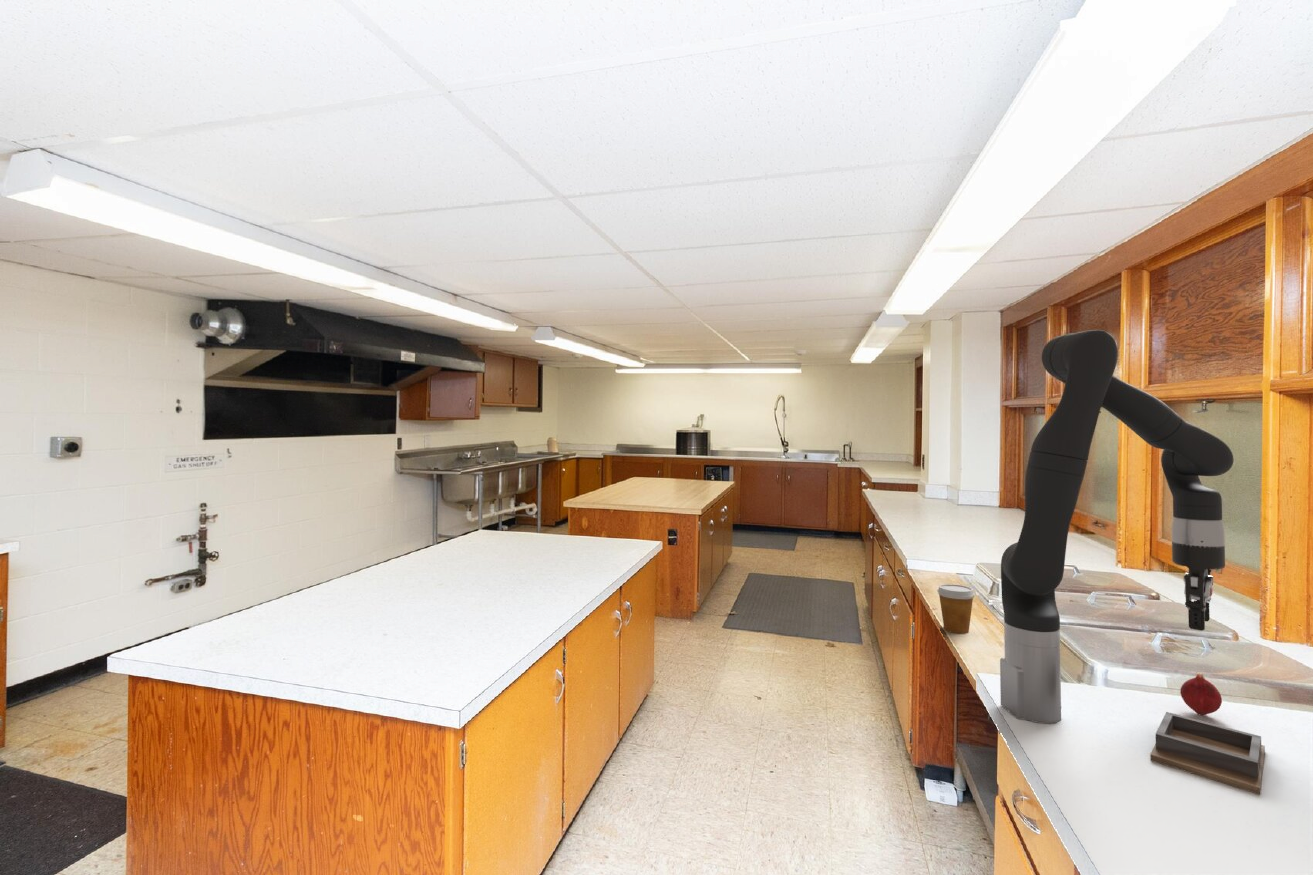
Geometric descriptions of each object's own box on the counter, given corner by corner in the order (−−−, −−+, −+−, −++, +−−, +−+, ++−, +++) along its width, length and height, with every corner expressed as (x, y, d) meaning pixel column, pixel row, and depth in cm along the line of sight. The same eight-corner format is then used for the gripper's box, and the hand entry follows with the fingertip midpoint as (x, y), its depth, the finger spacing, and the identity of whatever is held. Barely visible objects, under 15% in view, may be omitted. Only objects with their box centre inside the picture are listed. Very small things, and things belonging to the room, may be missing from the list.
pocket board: (1260, 794, 86) (1259, 771, 86) (1150, 760, 95) (1150, 739, 95) (1264, 751, 98) (1264, 731, 98) (1166, 724, 107) (1166, 706, 107)
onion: (1230, 723, 108) (1229, 681, 108) (1194, 720, 109) (1194, 678, 109) (1207, 709, 113) (1206, 669, 113) (1173, 707, 114) (1173, 667, 115)
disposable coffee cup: (976, 628, 164) (975, 586, 164) (974, 637, 156) (973, 593, 156) (939, 622, 169) (939, 582, 169) (935, 631, 161) (935, 589, 161)
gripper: (1221, 548, 104) (1223, 637, 104) (1227, 539, 113) (1229, 621, 113) (1166, 543, 110) (1168, 628, 109) (1176, 535, 119) (1178, 613, 119)
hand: (1199, 624), depth 111 cm, fingers open, 8 cm apart
